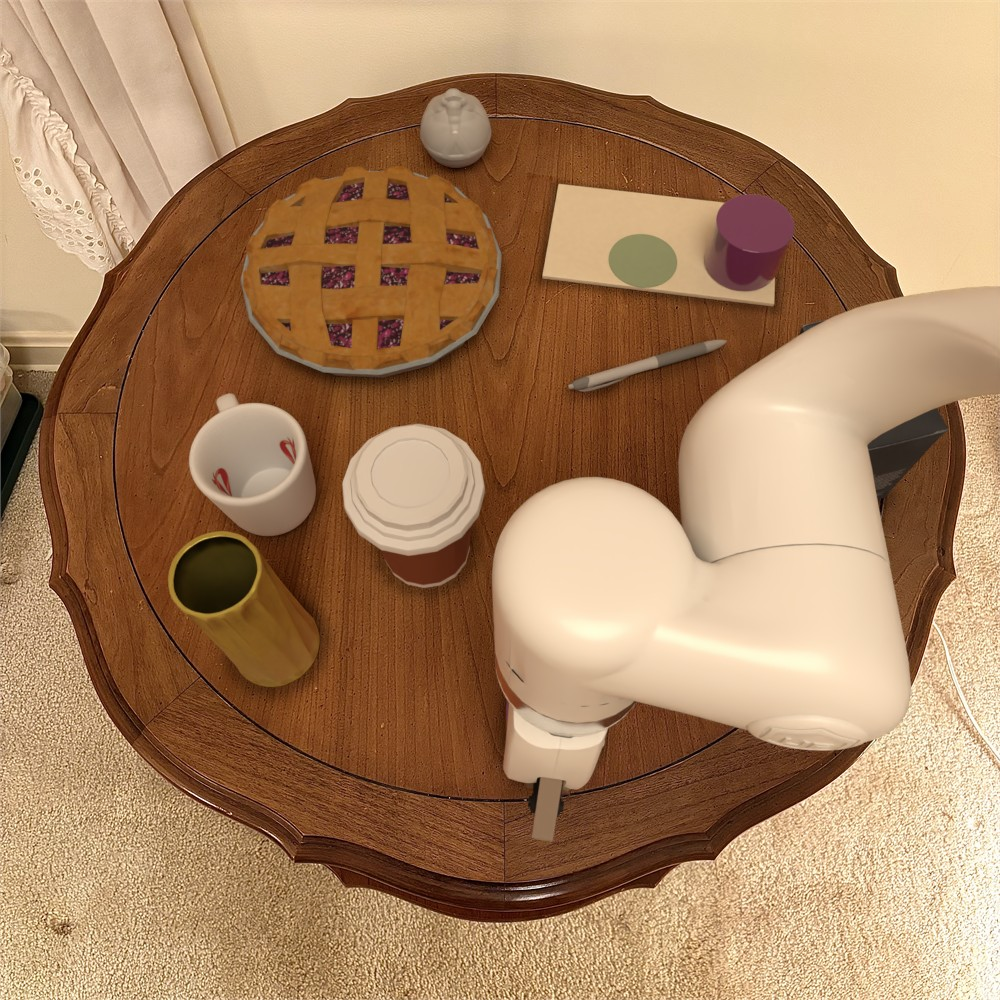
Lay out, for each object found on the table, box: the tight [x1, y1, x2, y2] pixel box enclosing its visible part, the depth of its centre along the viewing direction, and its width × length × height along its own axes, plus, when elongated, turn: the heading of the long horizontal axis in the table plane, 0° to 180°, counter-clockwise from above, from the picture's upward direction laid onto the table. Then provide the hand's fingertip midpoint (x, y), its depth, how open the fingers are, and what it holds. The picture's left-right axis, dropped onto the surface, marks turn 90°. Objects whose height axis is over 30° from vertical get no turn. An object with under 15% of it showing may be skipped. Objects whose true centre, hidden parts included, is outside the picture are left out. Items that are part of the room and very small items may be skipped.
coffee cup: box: [341, 423, 486, 589], centre depth 57 cm, size 9×9×12 cm
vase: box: [167, 530, 321, 688], centre depth 53 cm, size 6×6×14 cm
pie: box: [240, 165, 503, 379], centre depth 71 cm, size 22×22×5 cm
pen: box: [567, 339, 728, 393], centre depth 69 cm, size 1×14×1 cm, turn 108°
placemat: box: [541, 183, 776, 308], centre depth 75 cm, size 20×11×1 cm, turn 81°
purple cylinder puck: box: [704, 193, 795, 291], centre depth 72 cm, size 6×6×5 cm
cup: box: [188, 392, 317, 537], centre depth 61 cm, size 11×8×8 cm
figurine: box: [419, 87, 492, 169], centre depth 77 cm, size 6×7×8 cm
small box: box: [797, 318, 949, 501], centre depth 62 cm, size 11×6×10 cm, turn 14°
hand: (553, 723), depth 56 cm, fingers closed on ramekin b, 6 cm apart
